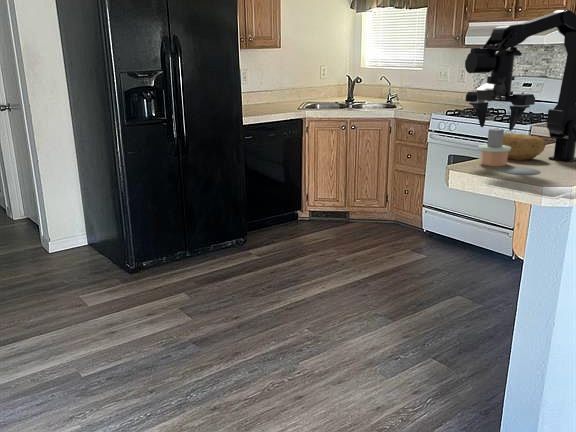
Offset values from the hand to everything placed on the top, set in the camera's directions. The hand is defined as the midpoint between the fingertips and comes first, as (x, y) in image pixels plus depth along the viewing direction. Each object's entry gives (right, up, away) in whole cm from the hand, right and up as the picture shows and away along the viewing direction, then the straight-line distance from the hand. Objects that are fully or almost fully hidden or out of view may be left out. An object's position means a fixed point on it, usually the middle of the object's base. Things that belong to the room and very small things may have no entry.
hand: (496, 128), depth 160 cm
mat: (+4, -13, -7) cm, 15 cm away
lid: (0, -6, +2) cm, 6 cm away
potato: (+11, -8, +10) cm, 17 cm away
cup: (0, -10, +3) cm, 11 cm away
